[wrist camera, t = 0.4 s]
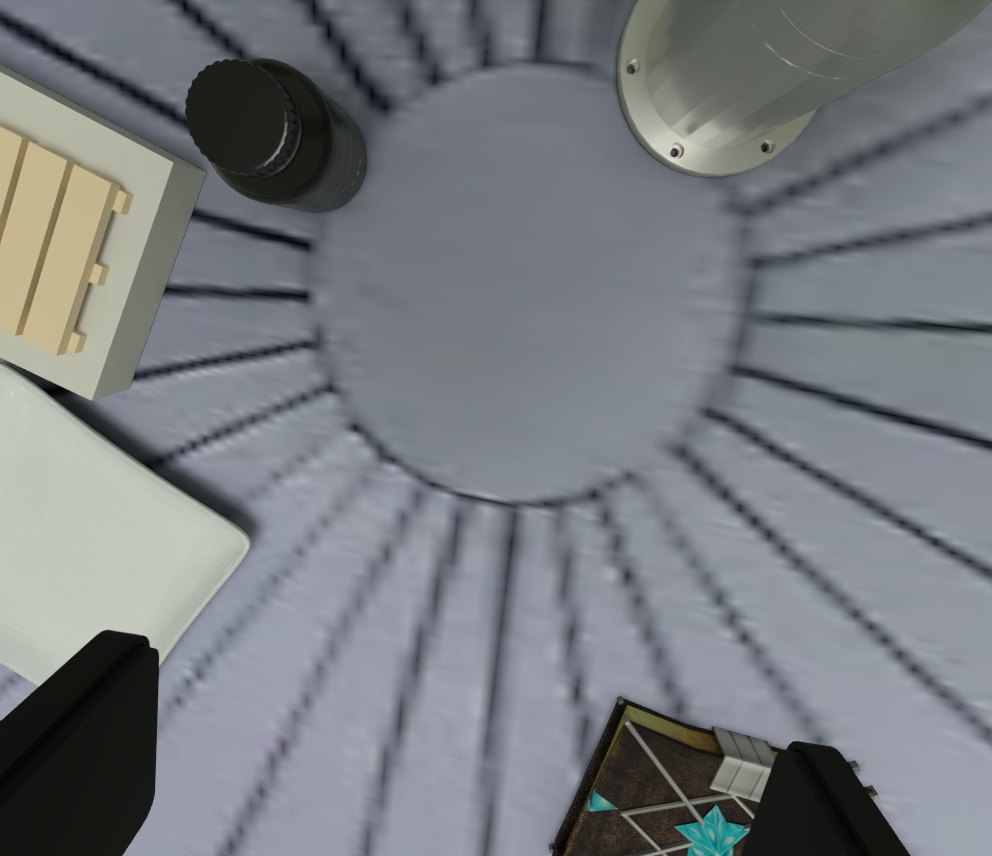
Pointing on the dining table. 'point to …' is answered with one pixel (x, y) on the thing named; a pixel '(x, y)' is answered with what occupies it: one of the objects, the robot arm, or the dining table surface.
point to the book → (667, 789)
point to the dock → (120, 239)
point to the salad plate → (94, 539)
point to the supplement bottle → (275, 135)
